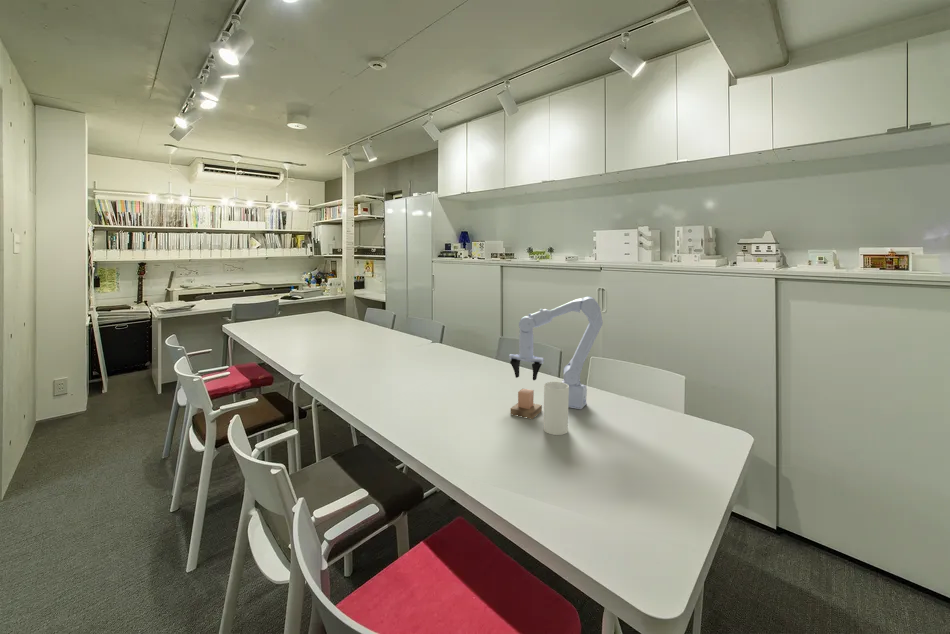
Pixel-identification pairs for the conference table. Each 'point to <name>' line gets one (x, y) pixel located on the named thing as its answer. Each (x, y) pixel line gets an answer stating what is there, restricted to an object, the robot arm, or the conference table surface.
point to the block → (525, 398)
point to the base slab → (526, 411)
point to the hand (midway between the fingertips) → (525, 378)
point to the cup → (556, 408)
